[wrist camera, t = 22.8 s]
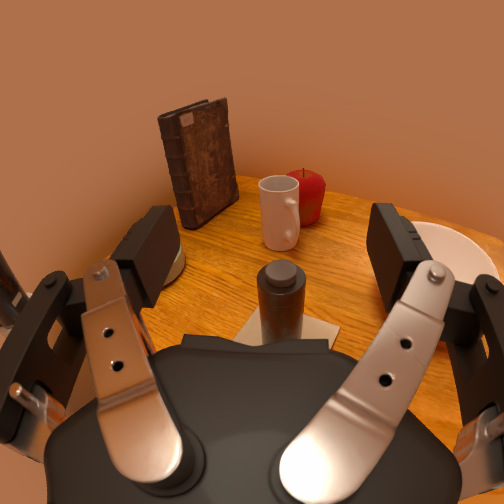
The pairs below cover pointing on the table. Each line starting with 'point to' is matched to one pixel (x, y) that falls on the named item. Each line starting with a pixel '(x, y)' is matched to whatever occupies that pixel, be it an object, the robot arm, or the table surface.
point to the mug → (280, 211)
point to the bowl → (456, 252)
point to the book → (199, 159)
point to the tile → (310, 330)
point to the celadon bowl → (176, 266)
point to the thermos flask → (281, 301)
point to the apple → (309, 195)
